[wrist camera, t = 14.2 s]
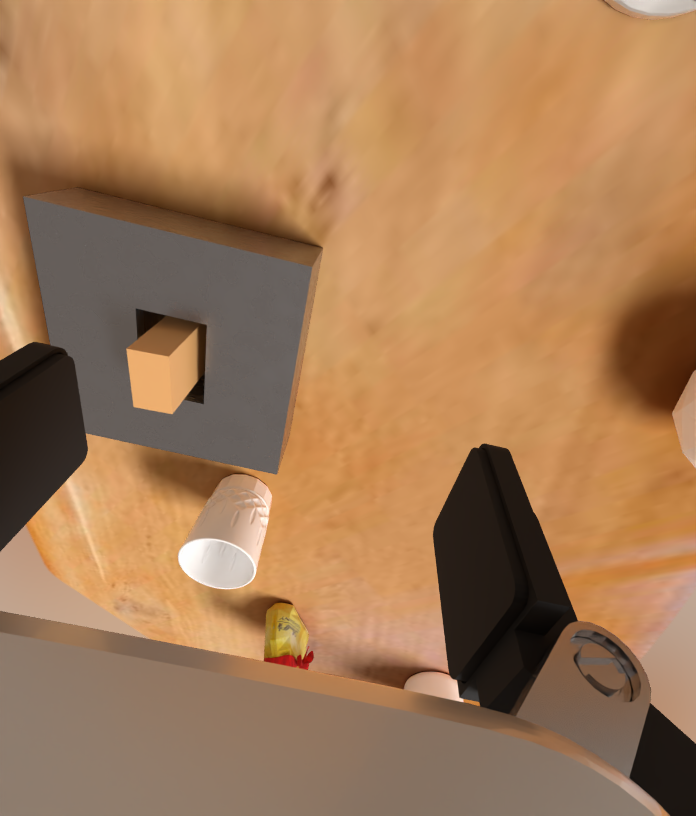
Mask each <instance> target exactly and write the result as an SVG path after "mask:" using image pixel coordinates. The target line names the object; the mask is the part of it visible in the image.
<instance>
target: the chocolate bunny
mask: <svg viewBox="0 0 696 816" xmlns="http://www.w3.org/2000/svg"><path fill="white" fill-rule="evenodd" d="M308 637H309V634H308V631H307V629H306V627H305V625H304V624H303V622H302V620H301V619H300V617H299V615H298V613H297V611H296V609H295V607H294V605H290V604H287V603H275V604H274V605H273V606H272V607H271V608H269V609H268V610H267V613H266V630H265V649H264V662H269V663H274V664H280V665H285V666H290V667H295V668H300V669H305V670H308V667H309V663H310V662H312V660H313V657H314V655H313V651H311V652H310V653H309V654H308V655H307V656H306V654H307V651H308V649H307V651H306V645H307V642H308ZM308 648H309V646H308Z"/></svg>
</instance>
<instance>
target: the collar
mask: <svg viewBox="0 0 696 816" xmlns="http://www.w3.org/2000/svg"><path fill="white" fill-rule="evenodd" d="M23 199H24V204H25V210H26V215H27V221H28V226H29V231H30V237H31V242H32V248H33V253H34V259H35V264H36V269H37V275H38V280H39V286H40V291H41V296H42V302H43V307H44V313H45V318H46V324H47V329H48V334H49V340H50V345H52V346H56V347H60V348H63V349H65V350H66V352H67V353H68V356H70V357H72V358H73V360H74V363H75V368H76V375H77V381H78V388H79V394H80V401H81V407H82V414H83V420H84V427H85V433H87V434H92V435H96V436H101V437H106V438H110V439H115V440H119V441H124V442H129V443H133V444H138V445H143V446H147V447H152V448H157V449H161V450H166V451H170V452H175V453H180V454H184V455H189V456H194V457H198V458H203V459H207V460H212V461H217V462H221V463H226V464H231V465H235V466H240V467H245V468H249V469H254V470H258V471H263V472H268V473H272V474H277V473H278V470H279V467H280V464H281V461H282V458H283V454H284V451H285V448H286V445H287V442H288V439H289V435H290V429H291V424H292V418H293V412H294V407H295V401H296V396H297V390H298V385H299V379H300V373H301V368H302V362H303V357H304V351H305V346H306V340H307V334H308V329H309V323H310V318H311V312H312V307H313V301H314V296H315V290H316V284H317V279H318V273H319V268H320V262H321V257H322V251H323V248H321V247H317V246H313V245H309V244H305V243H301V242H297V241H293V240H289V239H285V238H281V237H277V236H273V235H268V234H264V233H260V232H256V231H252V230H248V229H244V228H240V227H236V226H232V225H228V224H224V223H220V222H216V221H212V220H208V219H204V218H200V217H196V216H192V215H187V214H183V213H179V212H175V211H171V210H167V209H163V208H159V207H155V206H151V205H147V204H143V203H139V202H135V201H131V200H127V199H123V198H119V197H115V196H111V195H106V194H102V193H98V192H94V191H90V190H86V189H82V188H78V187H76V188H70V189H64V190H58V191H52V192H46V193H40V194H34V195H28V196H23ZM166 316H171V317H175V318H179V319H184V320H188V321H192V322H197V323H201V324H205V325H207V334H206V361H205V372H204V374H203V375H202V376H201V378H200V379H199V380H198V382H197V383H196V384H195V386H194V387H193V388H192V389H191V391H190V392H189V393H188V395H187V396H186V397H185V399H184V400H183V401H182V402H181V404H180V405H179V406H178V408H177V409H176V410H175V412H174V413H173V414H168V413H163V412H158V411H152V410H147V409H141V408H136V407H134V406H133V398H132V390H131V382H130V374H129V366H128V358H127V350H126V348H128V347H129V346H130V345H131V344H133V343H134V342H135V341H136V340H137V339H139V338H140V337H141V336H142V335H144V334H145V333H146V332H147V331H148V330H150V329H151V328H152V327H153V326H155V325H156V324H157V323H158V322H159V321H161V320H162V319H163V318H164V317H166Z"/></svg>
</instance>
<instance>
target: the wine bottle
mask: <svg viewBox="0 0 696 816" xmlns="http://www.w3.org/2000/svg"><path fill="white" fill-rule="evenodd" d="M404 690H409V691H413V692H418V693H423V694H427V695H432V696H436V697H441V698H446V699H450V700H455V701H460V702H463V699H462V698H459V692H458V684H457V680H454V679H452V678H451V677H450V676H449V675H447V674H444V673H440V672H422V673H418V674H415V675H413V676H411V677H410V678H409V679H408V680H407V681H406V683H405V686H404Z"/></svg>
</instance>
